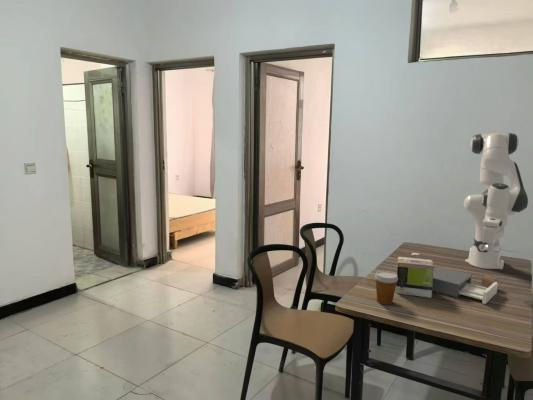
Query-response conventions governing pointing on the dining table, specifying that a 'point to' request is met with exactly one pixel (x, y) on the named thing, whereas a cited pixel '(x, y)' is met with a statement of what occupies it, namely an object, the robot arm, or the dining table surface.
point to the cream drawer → (478, 291)
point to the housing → (449, 281)
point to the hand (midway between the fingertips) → (492, 249)
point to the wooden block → (488, 281)
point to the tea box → (414, 277)
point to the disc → (494, 248)
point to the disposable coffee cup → (385, 286)
